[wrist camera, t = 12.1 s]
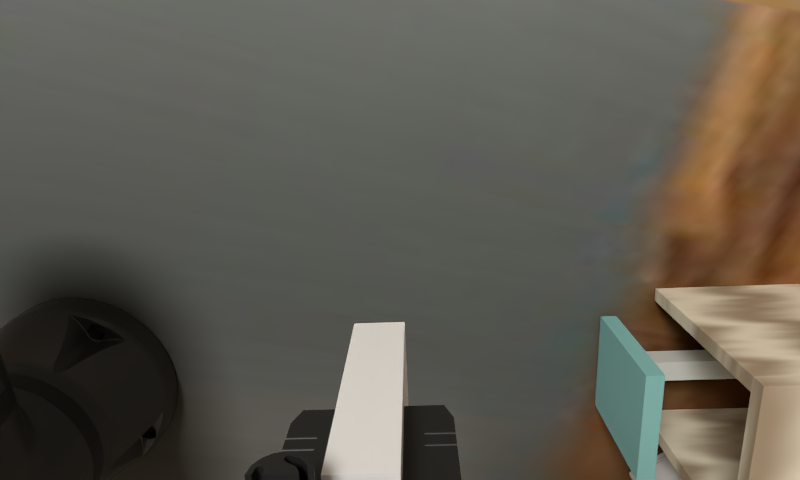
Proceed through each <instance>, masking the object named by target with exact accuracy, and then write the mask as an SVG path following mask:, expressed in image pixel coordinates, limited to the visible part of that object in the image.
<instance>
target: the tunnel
mask: <svg viewBox="0 0 800 480" xmlns="http://www.w3.org/2000/svg"><path fill="white" fill-rule="evenodd" d="M655 301H656V302H657V303H658V304H659V305H660V306H661V307H662V308H663V309H664V310H665V311H666V312H667V313H668V314H669V315H670V316H671V317H672V318H674V319H675V320H676V321H677V322H678V323H679V324H680V325H681V326H682V327H683V328H684V329H685V330H686V331H687V332H688V333H689V334H690V335H691V336H692V337H693V338H695V339H696V340H697V341H698V342H699V343H700V344H701V345H702V346H703V347H704V348H705V349H706V350H707V351H708V352H709V353H710V354H711V355H712V356H713V357H714V358H715V359H717V360H718V361H719V362H720V363H721V364H722V365H723V366H724V367H725V368H726V369H727V370H728V371H729V372H730V373H731V374H732V375H733V376H734V377H735V378H736V379H737V380H739V381H740V382H741V383H742V384H743V385H744V386H745V387H746V388H747V389H748V390H749V391H750V392H751V395H750V401H749V407H748V408H721V409H683V410H662V412H661V422H660V432H659V441H658V444H659V445H660V447H661V449H662V450H663V452H664V453H665V455H666V456H667V458H668V459H669V461H670V462H671V464H672V465H673V467H674V468H675V470H676V471H677V473H678V474H679V476H680V477H681V479H682V480H800V284H781V285H751V286H720V287H690V288H660V289H656V291H655Z"/></svg>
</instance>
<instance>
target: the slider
mask: <svg viewBox="0 0 800 480" xmlns="http://www.w3.org/2000/svg"><path fill="white" fill-rule="evenodd" d="M708 379H736V378H735V377H734V376H733V375H732V374H731V373H730V372H729V371H728V370H727V369H726V368H725V367H724V366H723V365H722V364H721V363H720V362H719V361H718V360H717V359H715V358H714V357H713V356H712V355H711V354H710V353H709V352H708V351H707V350H680V351H647V352H646V351H645V350H644V349H643V348H642V347H641V345H640V344H639V343H638V342H637V341H636V339H635V338H634V337H633V336H632V335H631V333H630V332H629V331H628V330H627V328H626V327H625V326H624V325H623V324H622V322H621V321H620V320H619V319H618V318H617V316H601V321H600V336H599V351H598V367H597V382H596V398H595V406H596V408H597V409H598V411H599V413H600V415H601V417H602V419H603V420H604V422H605V424H606V426H607V428H608V430H609V431H610V433H611V435H612V437H613V439H614V441H615V442H616V444H617V446H618V448H619V450H620V452H621V453H622V455H623V457H624V459H625V461H626V463H627V464H628V466H629V468H630V470H631V472H632V474H633V475H634V477H635V479H636V480H654V479H655V470H656V460H657V451H658V441H659V432H660V422H661V412H662V403H663V393H664V384H665V381H672V380H708Z"/></svg>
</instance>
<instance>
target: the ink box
mask: <svg viewBox="0 0 800 480" xmlns="http://www.w3.org/2000/svg"><path fill="white" fill-rule="evenodd" d="M629 475H630V477H631V479H632V480H636V479H635V477H634V475H633V474H632V472H631V471H630V472H629ZM654 480H682V479H681V477H680V476H679V474H678V473H677V471H676V470H675V468H674V467H673V465H672V464H671V462H670V461H669V459H668V458H667V456H666V455H665V453H664V452H662V453H660V454H659V455H657V460H656V470H655V479H654Z"/></svg>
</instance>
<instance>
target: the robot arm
mask: <svg viewBox="0 0 800 480" xmlns="http://www.w3.org/2000/svg"><path fill="white" fill-rule="evenodd" d="M176 402H177V381H176V375H175V372H174V368H173V365H172V363H171V361H170V358H169V356H168V355H167V353H166V351H165V349H164V348H163V346H162V345H161V343H160V342H159V341H158V340H157V338H156V337H155V336H154V335H153V334H152V333H151V332H150V331H149V330H148V329H147V328H146V327H145V326H144V325H143V324H141V323H140V322H139V321H137V320H136V319H135V318H133V317H132V316H130V315H128V314H127V313H125V312H123V311H121V310H119V309H117V308H115V307H112V306H110V305H107V304H104V303H101V302H97V301H92V300H86V299H74V298H70V299H58V300H52V301H48V302H45V303H42V304H39V305H37V306H34V307H32V308H31V309H29V310H27V311H25V312H24V313H22V314H21V315H19V316H18V317H16V318H14V319H13V320H11V321H10V322H8V323H7V324H6V325H5V326H3V327H2V328H1V329H0V480H108V479H110V478H111V477H113V476H114V475H116V474H117V473H119V472H120V471H122V470H123V469H125V468H126V467H128V466H129V465H131V464H133V463H134V462H136V461H137V460H138V459H140V458H141V457H142V456H144V455H145V454H146V453H147V452H148V451H149V450H150V449H151V448H152V447H153V446H154V444H155V443H156V442H157V440H158V439H159V438H160V436H161V435H162V433H163V432H164V430H165V429H166V427H167V426H168V424H169V423H170V421H171V419H172V416H173V414H174V411H175V407H176ZM245 480H461V473H460V465H459V457H458V449H457V440H456V433H455V424H454V417H453V416H452V415H451V413H450V412H449V411H448V410H447V408H446V407H445V406H444V405H430V406H408V386H407V364H406V342H405V322H391V323H359V324H354V328H353V333H352V337H351V342H350V346H349V351H348V355H347V360H346V364H345V369H344V373H343V377H342V382H341V386H340V391H339V395H338V400H337V404H336V409H335V410H303V411H302V412H301V413H300V415H299V416H298V417H297V418H296V419H295V420H294V421H293V422H292V423H291V425H290V428H289V431H288V434H287V437H286V440H285V443H284V446H283V449H282V452H279V453H273V454H271V455H268V456H266V457H263V458H261V459H260V460H258V461H257V462H256V463H254V464H253V465H252V466H251V467H250V468H249V469H248V471H247V472H246V474H245Z"/></svg>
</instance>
